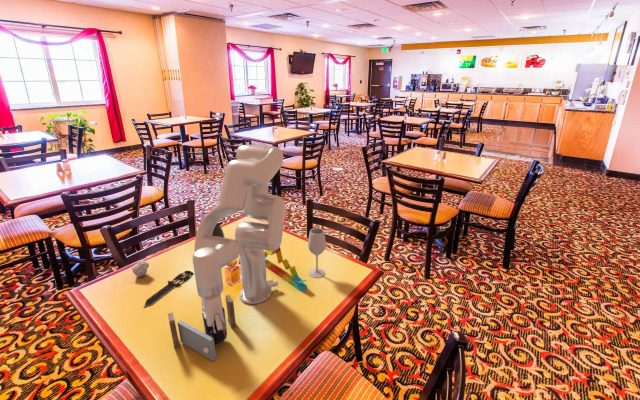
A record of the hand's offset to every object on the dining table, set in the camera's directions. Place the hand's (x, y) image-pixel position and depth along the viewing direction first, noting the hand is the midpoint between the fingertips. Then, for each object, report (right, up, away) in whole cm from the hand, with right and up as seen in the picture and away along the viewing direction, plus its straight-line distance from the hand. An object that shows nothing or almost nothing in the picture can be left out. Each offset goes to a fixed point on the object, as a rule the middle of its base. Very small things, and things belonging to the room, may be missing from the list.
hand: (216, 332), depth 104 cm
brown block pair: (-5, -3, +5) cm, 8 cm away
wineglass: (+32, +10, +40) cm, 52 cm away
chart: (+17, +9, +39) cm, 43 cm away
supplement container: (0, -2, +1) cm, 3 cm away
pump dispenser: (-20, +18, +61) cm, 67 cm away
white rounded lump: (-45, +9, +37) cm, 59 cm away
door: (-5, -5, -2) cm, 8 cm away
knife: (-29, +6, +29) cm, 41 cm away
